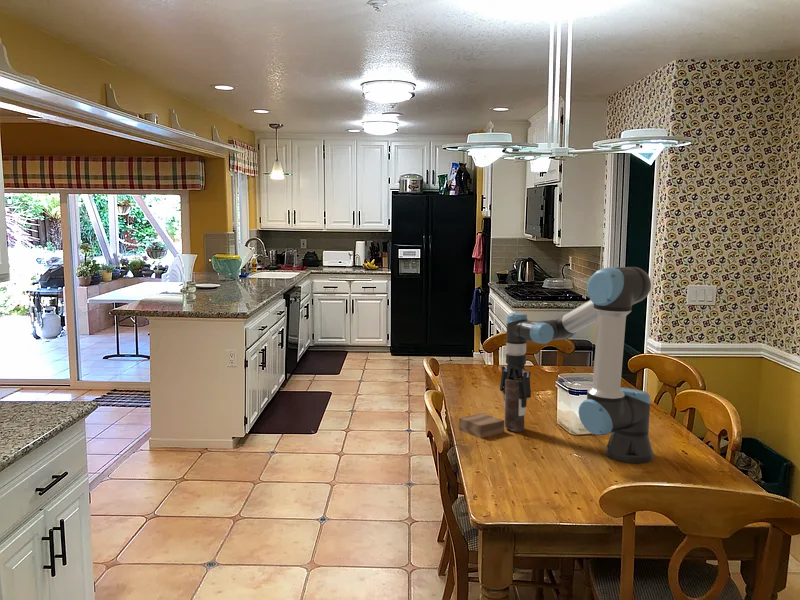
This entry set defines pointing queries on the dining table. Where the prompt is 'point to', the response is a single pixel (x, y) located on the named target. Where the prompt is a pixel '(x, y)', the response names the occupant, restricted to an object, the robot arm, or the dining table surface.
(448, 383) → the dining table surface
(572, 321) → the robot arm
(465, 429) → the walnut block
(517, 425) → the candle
